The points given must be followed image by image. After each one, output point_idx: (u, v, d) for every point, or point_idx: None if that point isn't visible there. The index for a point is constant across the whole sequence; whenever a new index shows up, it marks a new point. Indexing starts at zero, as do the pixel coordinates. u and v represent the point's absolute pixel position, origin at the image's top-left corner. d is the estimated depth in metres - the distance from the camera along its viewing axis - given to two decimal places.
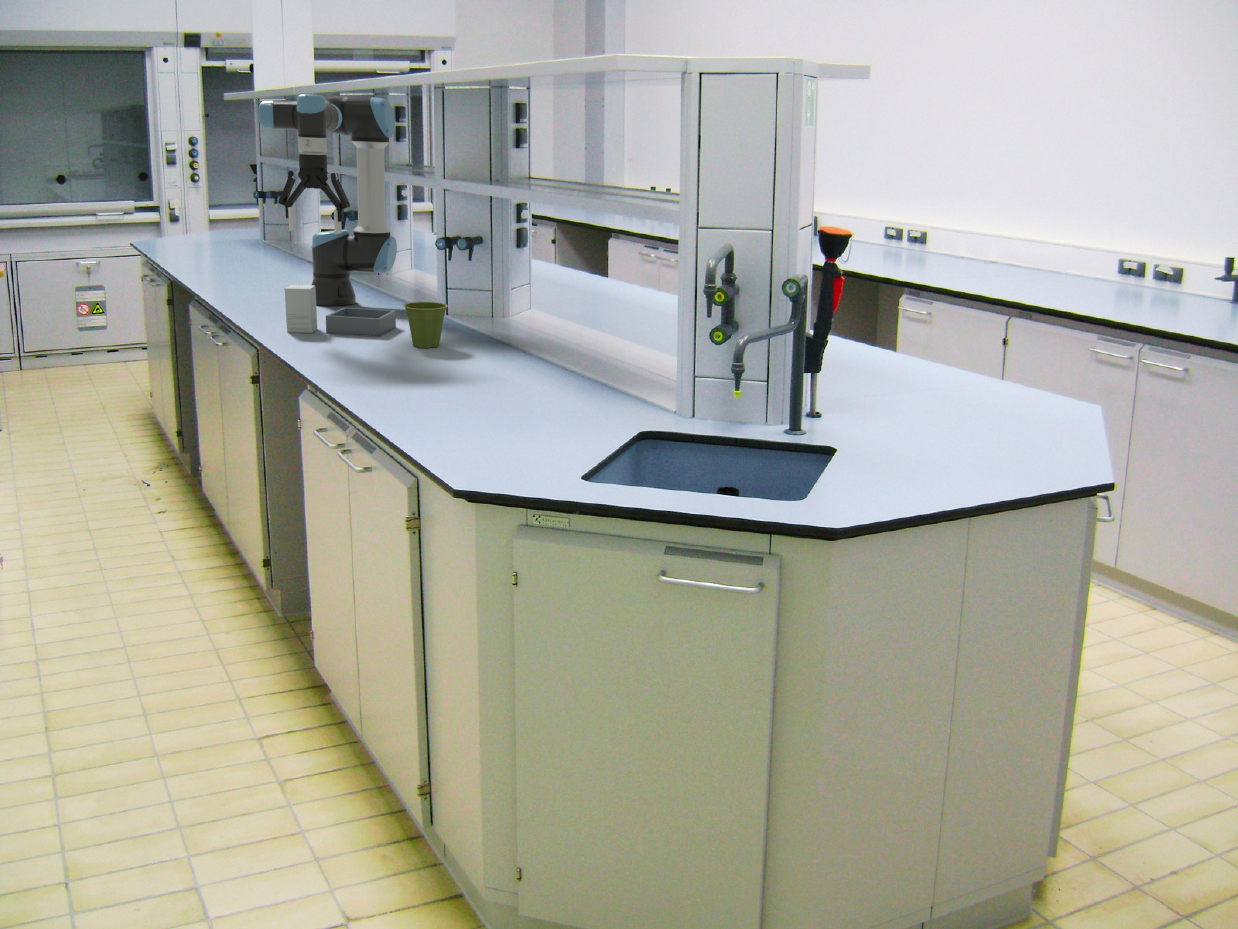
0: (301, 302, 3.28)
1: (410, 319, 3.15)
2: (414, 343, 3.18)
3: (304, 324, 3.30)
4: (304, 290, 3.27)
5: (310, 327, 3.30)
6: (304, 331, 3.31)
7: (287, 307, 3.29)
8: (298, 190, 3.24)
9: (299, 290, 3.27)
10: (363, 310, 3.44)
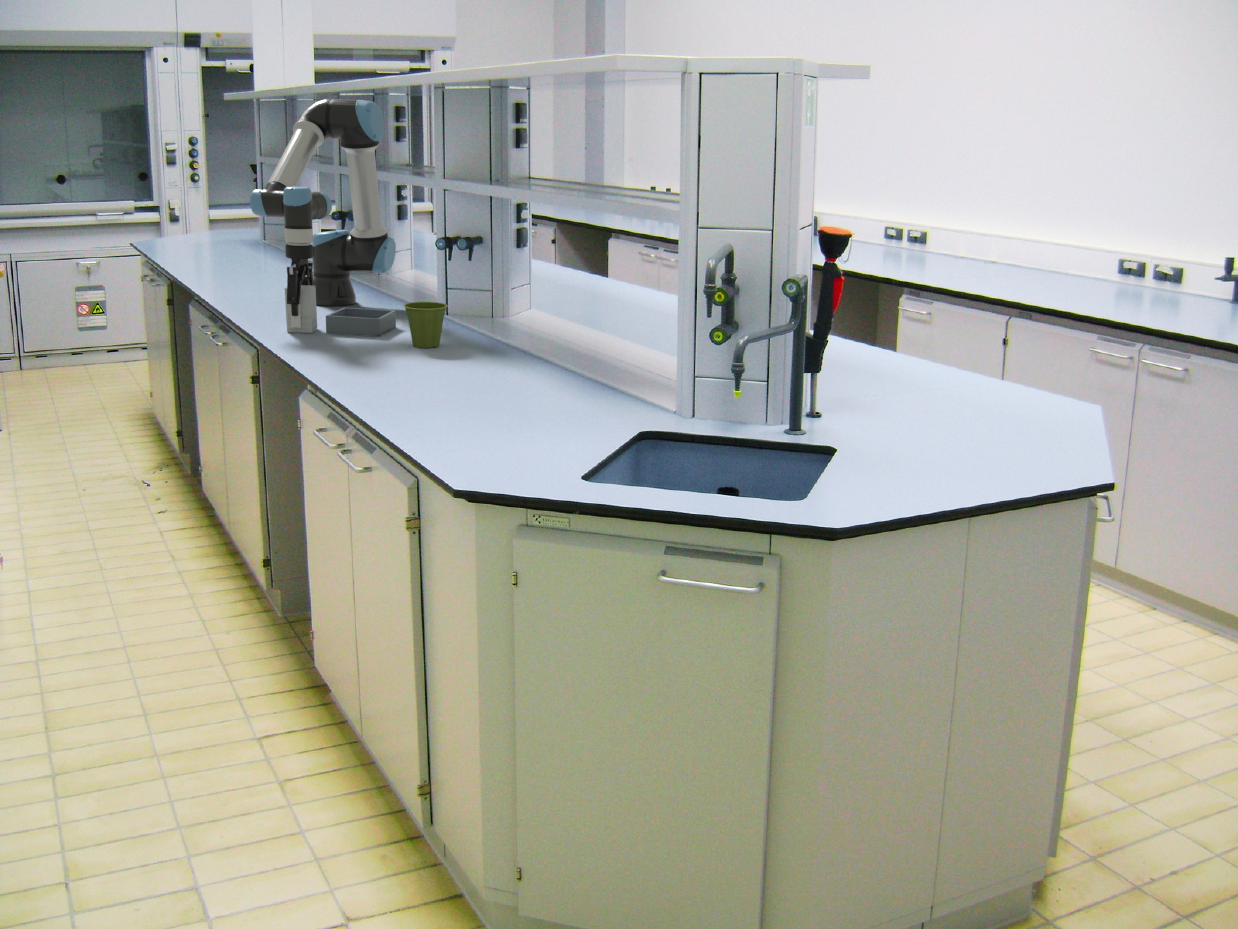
0: (301, 301, 3.28)
1: (410, 319, 3.15)
2: (414, 343, 3.18)
3: (304, 324, 3.30)
4: (304, 290, 3.27)
5: (310, 327, 3.30)
6: (304, 331, 3.31)
7: (287, 307, 3.28)
8: None
9: None
10: (363, 310, 3.44)
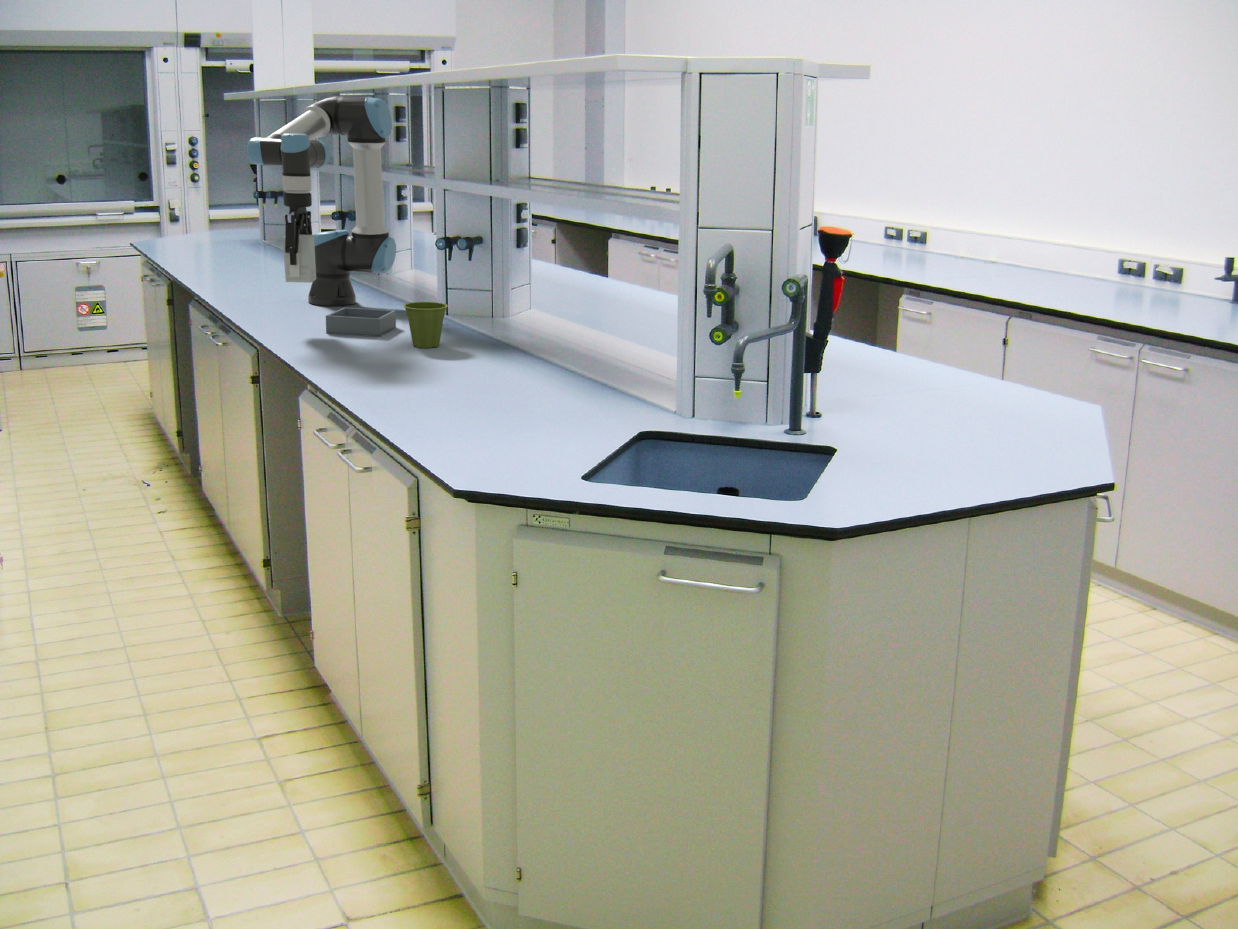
0: (300, 251, 3.24)
1: (410, 319, 3.15)
2: (414, 343, 3.18)
3: (303, 274, 3.26)
4: (302, 239, 3.24)
5: (309, 277, 3.27)
6: (303, 281, 3.27)
7: (285, 256, 3.25)
8: None
9: None
10: (363, 310, 3.44)
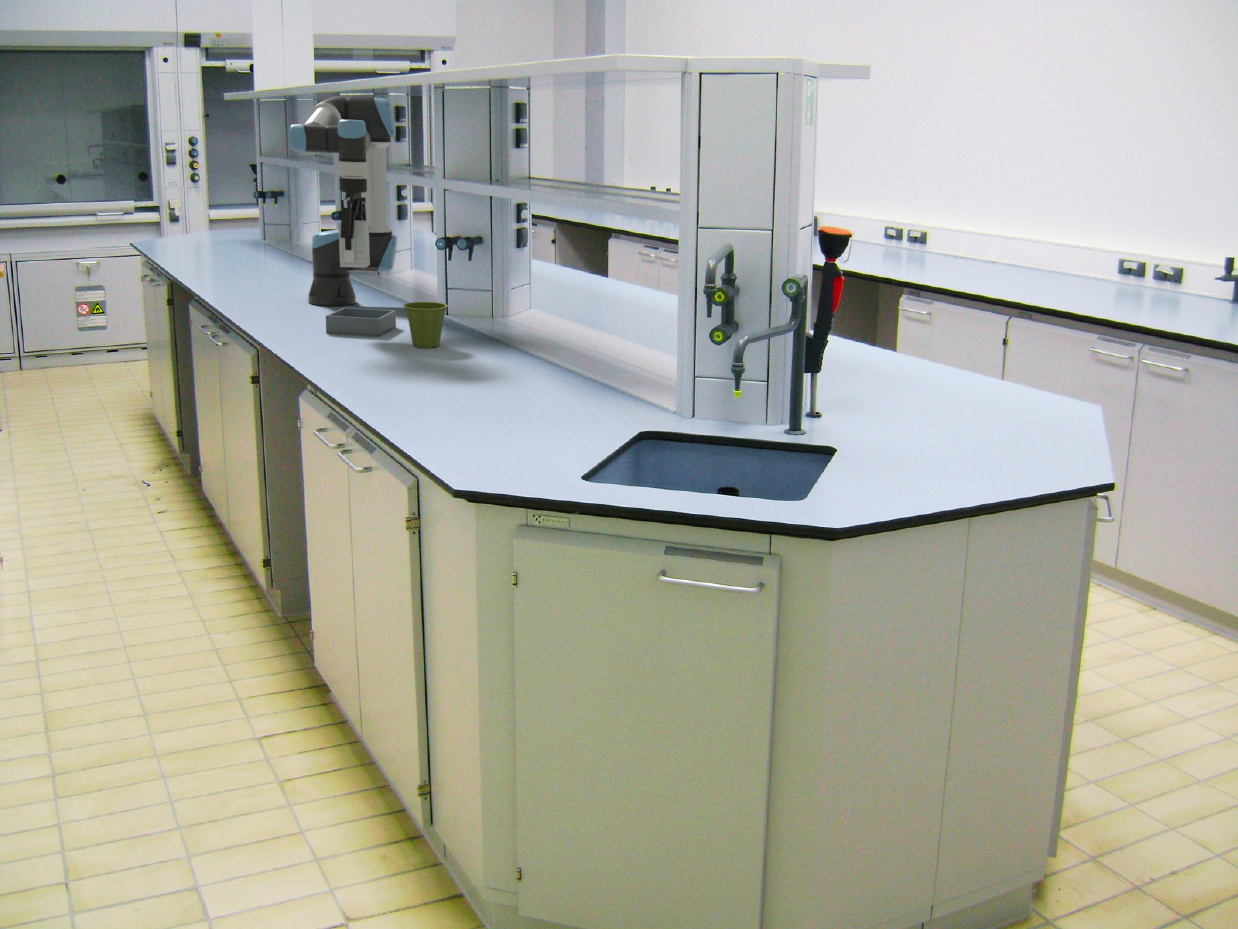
0: (355, 236, 3.27)
1: (410, 319, 3.15)
2: (414, 343, 3.18)
3: (357, 259, 3.29)
4: (358, 224, 3.26)
5: (363, 262, 3.29)
6: (357, 266, 3.29)
7: (340, 241, 3.27)
8: None
9: None
10: (363, 310, 3.44)
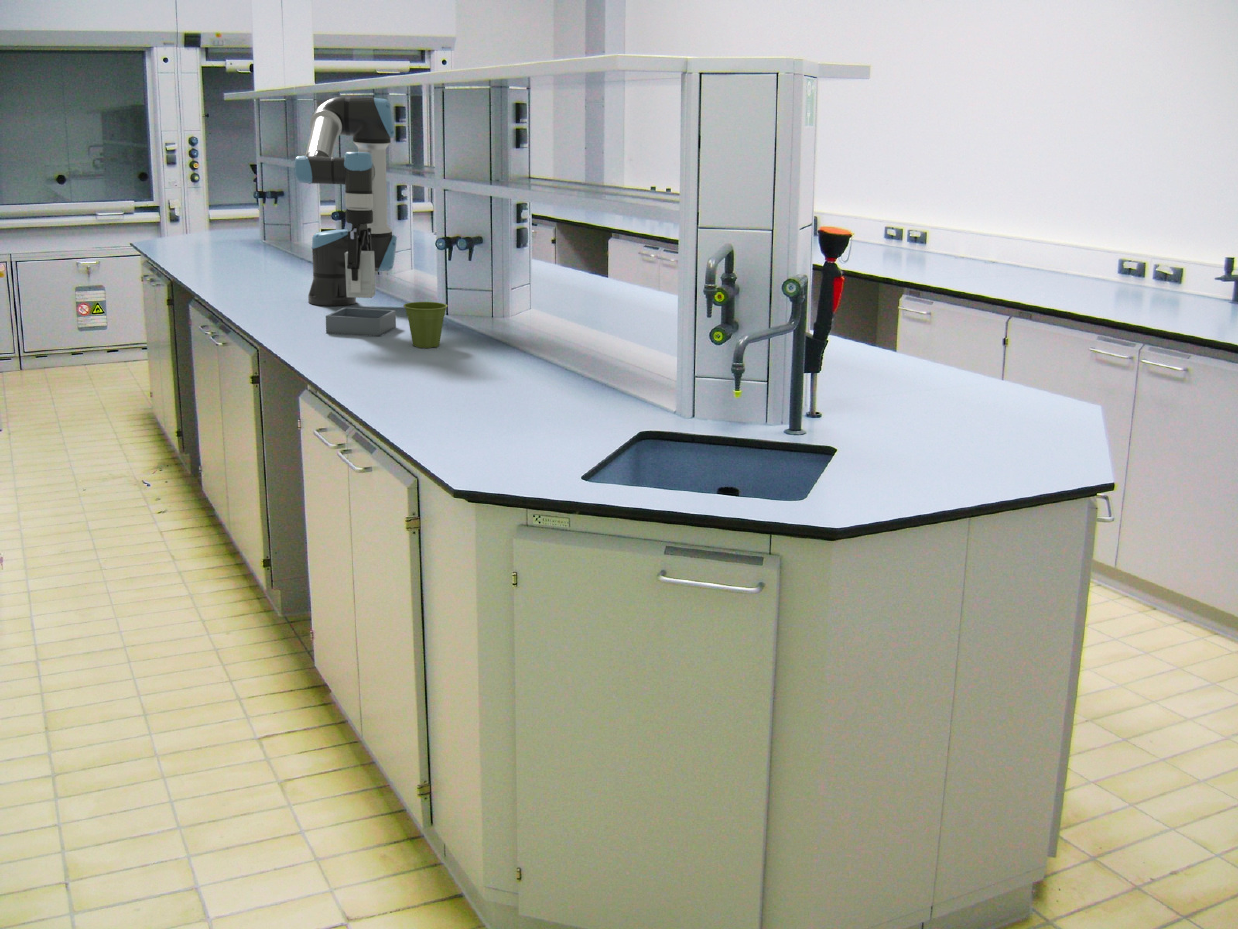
0: (361, 266, 3.30)
1: (410, 319, 3.15)
2: (414, 343, 3.18)
3: (363, 289, 3.31)
4: (364, 255, 3.29)
5: (369, 292, 3.32)
6: (363, 296, 3.32)
7: (347, 272, 3.30)
8: None
9: None
10: (363, 310, 3.44)
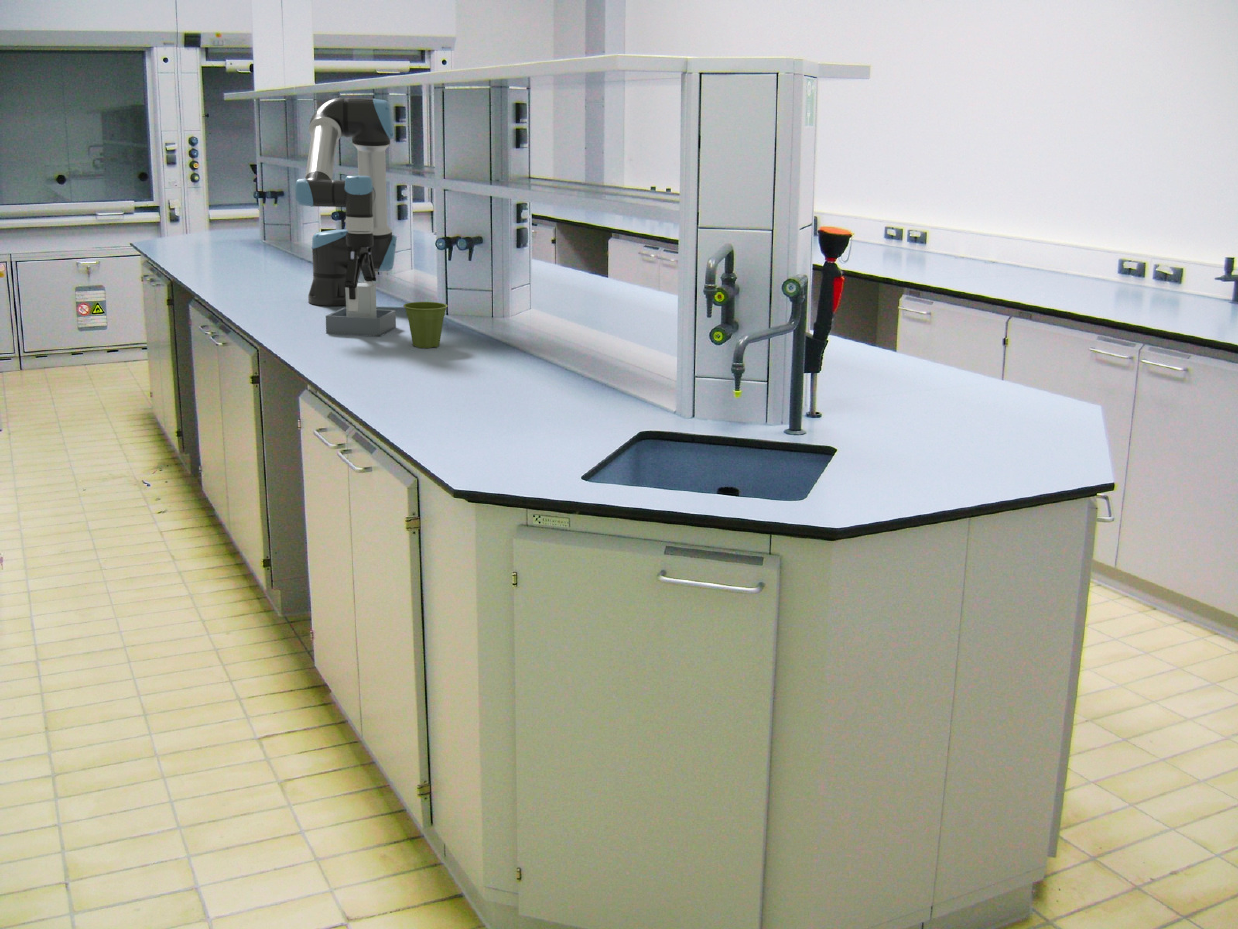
0: (361, 299, 3.33)
1: (410, 319, 3.15)
2: (414, 343, 3.18)
3: None
4: (364, 288, 3.32)
5: None
6: None
7: (347, 304, 3.33)
8: None
9: (359, 288, 3.32)
10: None
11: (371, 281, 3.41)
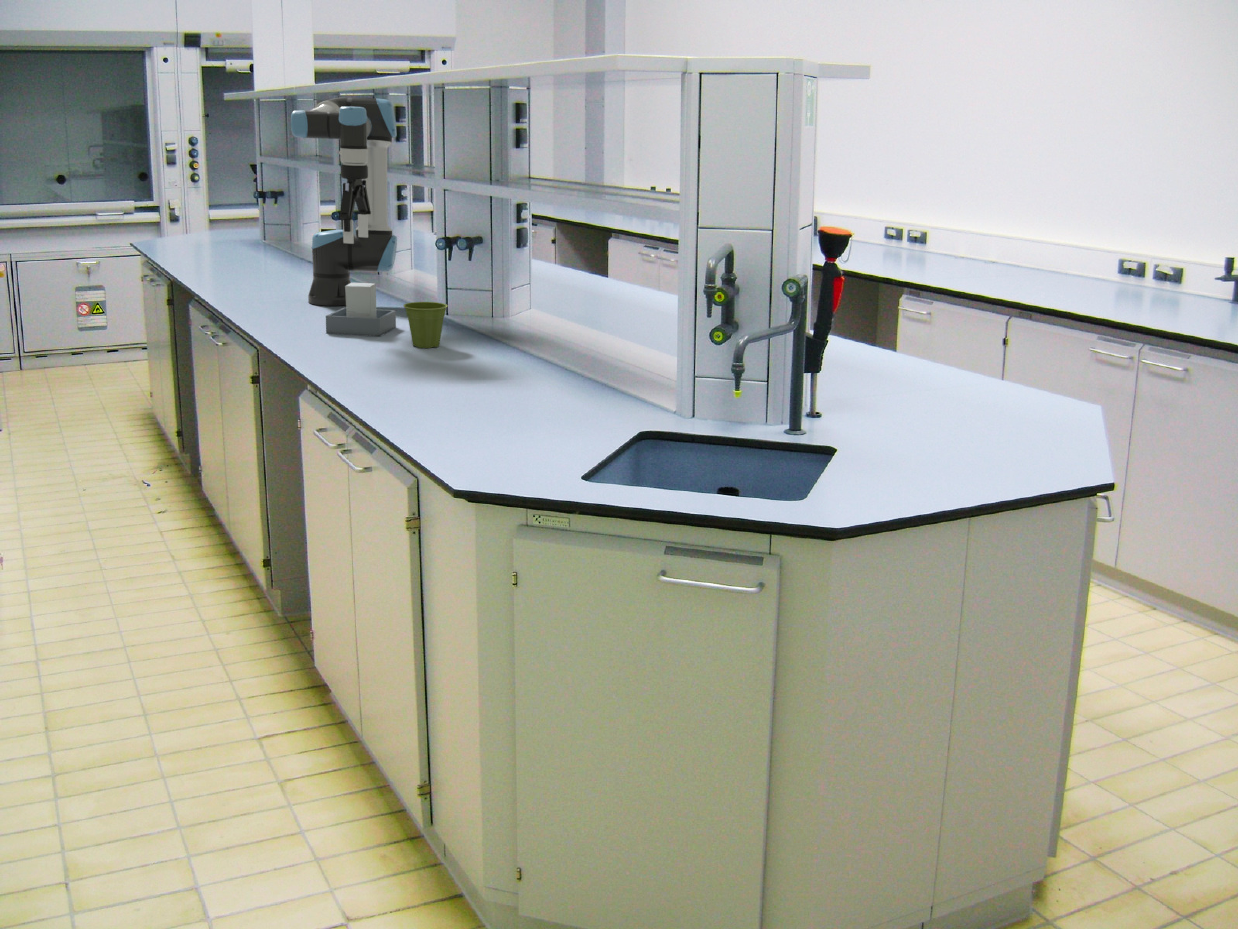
0: (361, 299, 3.33)
1: (410, 319, 3.15)
2: (414, 343, 3.18)
3: None
4: (364, 288, 3.32)
5: None
6: None
7: (347, 304, 3.33)
8: None
9: (359, 288, 3.32)
10: None
11: (366, 214, 3.40)
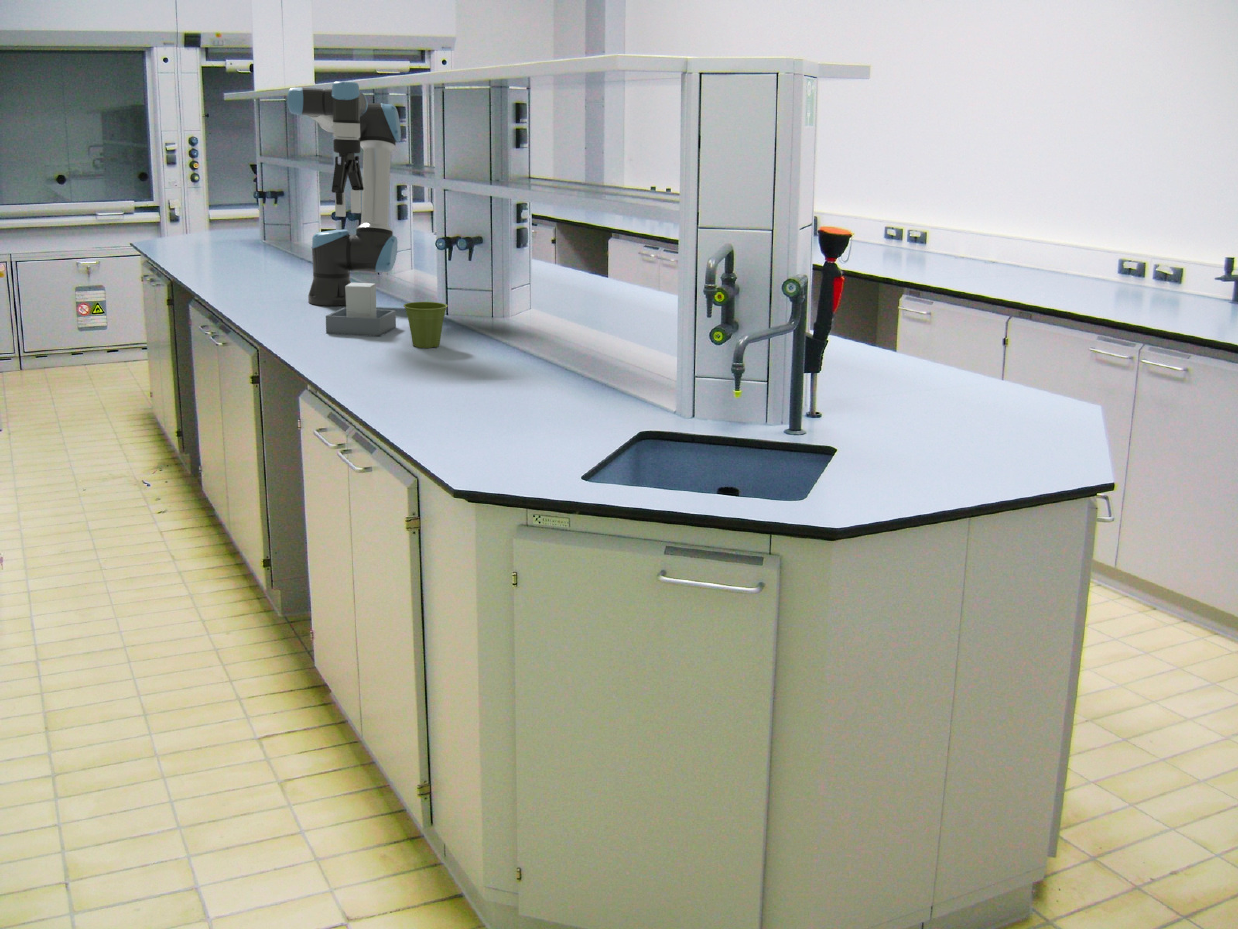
0: (361, 299, 3.33)
1: (410, 319, 3.15)
2: (414, 343, 3.18)
3: None
4: (364, 288, 3.32)
5: None
6: None
7: (347, 304, 3.33)
8: None
9: (359, 288, 3.32)
10: None
11: (358, 190, 3.44)
